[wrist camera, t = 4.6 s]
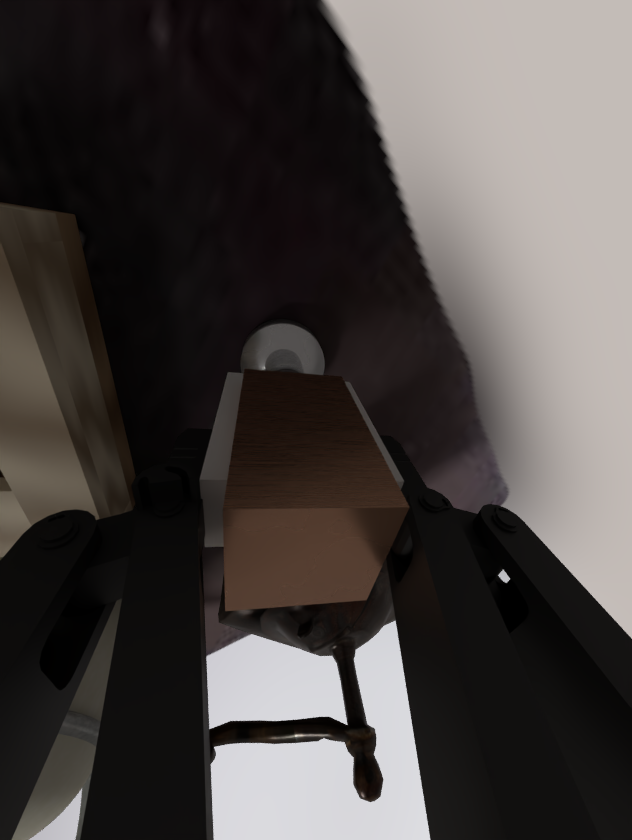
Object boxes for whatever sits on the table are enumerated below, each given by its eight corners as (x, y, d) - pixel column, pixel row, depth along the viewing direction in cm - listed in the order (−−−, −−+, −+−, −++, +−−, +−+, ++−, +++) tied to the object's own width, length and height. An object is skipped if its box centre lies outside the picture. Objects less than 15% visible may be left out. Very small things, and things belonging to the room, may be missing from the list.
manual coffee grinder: (320, 421, 22) (446, 857, 7) (393, 493, 27) (549, 818, 12) (181, 525, 25) (60, 949, 10) (269, 570, 31) (273, 888, 16)
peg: (315, 397, 20) (377, 607, 9) (241, 392, 19) (206, 621, 8) (327, 324, 18) (437, 491, 6) (242, 313, 17) (194, 491, 5)
